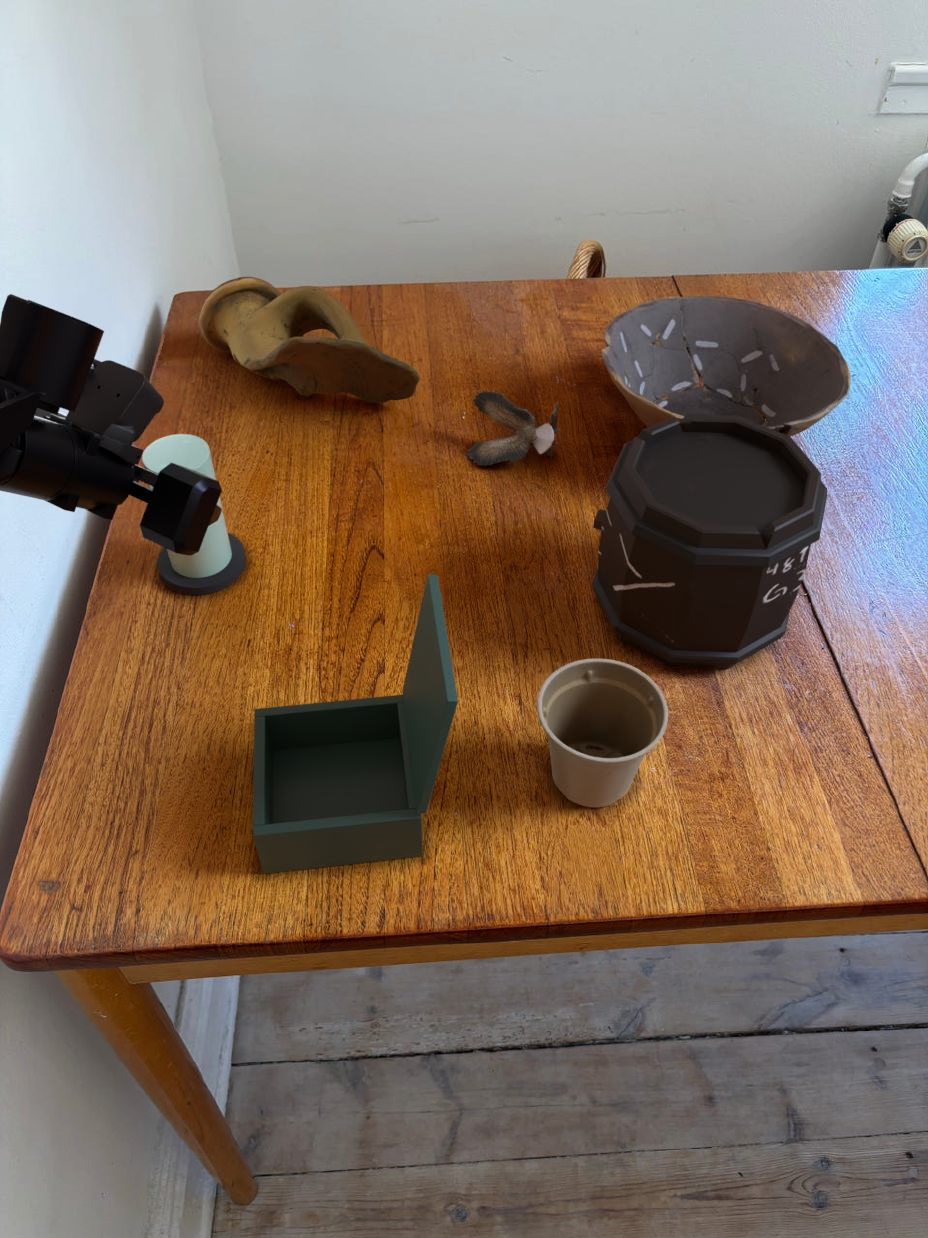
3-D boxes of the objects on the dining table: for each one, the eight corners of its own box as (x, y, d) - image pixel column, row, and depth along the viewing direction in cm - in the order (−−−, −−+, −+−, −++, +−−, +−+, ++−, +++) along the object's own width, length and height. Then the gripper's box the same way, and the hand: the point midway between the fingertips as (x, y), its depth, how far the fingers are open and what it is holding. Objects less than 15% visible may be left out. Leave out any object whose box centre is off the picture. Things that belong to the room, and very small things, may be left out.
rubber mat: (167, 604, 91) (164, 596, 90) (153, 547, 96) (151, 539, 96) (254, 583, 93) (252, 575, 92) (236, 528, 98) (235, 520, 98)
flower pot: (550, 839, 75) (559, 772, 69) (516, 739, 81) (522, 669, 75) (668, 814, 77) (688, 747, 70) (626, 718, 83) (641, 648, 77)
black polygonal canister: (611, 520, 100) (633, 384, 88) (795, 564, 96) (843, 428, 84) (560, 647, 88) (577, 510, 77) (768, 704, 84) (818, 568, 73)
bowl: (861, 497, 102) (893, 415, 95) (626, 520, 100) (640, 437, 92) (772, 361, 119) (793, 283, 112) (568, 377, 117) (577, 298, 109)
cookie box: (263, 874, 73) (252, 835, 69) (263, 749, 80) (254, 708, 76) (423, 856, 74) (421, 817, 70) (408, 735, 81) (406, 693, 78)
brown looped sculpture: (235, 412, 99) (168, 278, 109) (282, 485, 110) (217, 357, 121) (401, 323, 100) (318, 199, 110) (431, 405, 111) (353, 285, 122)
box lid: (447, 701, 61) (458, 701, 61) (427, 573, 68) (437, 574, 69) (416, 814, 70) (426, 814, 70) (402, 690, 77) (411, 690, 77)
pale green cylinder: (214, 584, 92) (189, 480, 83) (159, 570, 93) (129, 466, 84) (242, 544, 95) (221, 441, 86) (189, 531, 96) (163, 428, 88)
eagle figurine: (550, 415, 110) (469, 402, 108) (568, 390, 103) (481, 376, 101) (544, 482, 108) (462, 470, 107) (563, 461, 101) (475, 448, 100)
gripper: (180, 394, 69) (297, 443, 84) (-8, 318, 76) (130, 375, 90) (124, 545, 70) (249, 567, 85) (-57, 457, 77) (88, 492, 91)
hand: (178, 495), depth 88 cm, fingers open, 9 cm apart
